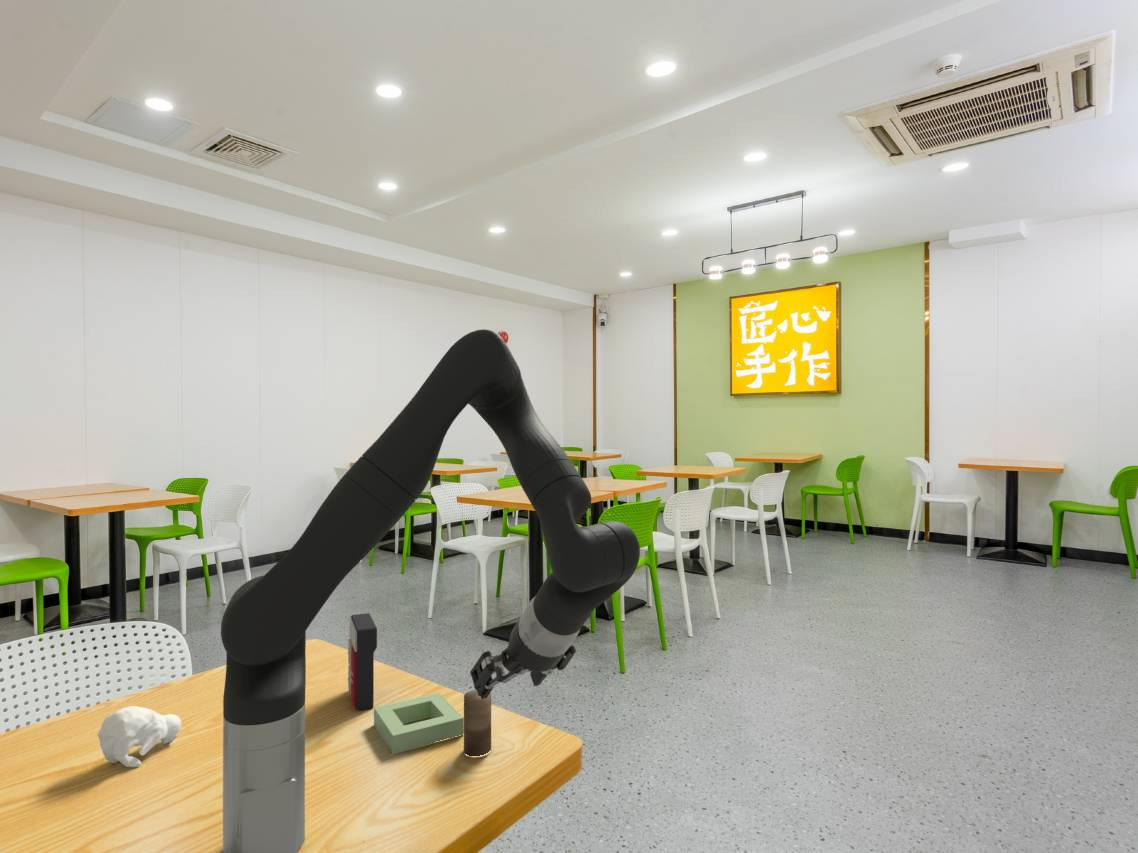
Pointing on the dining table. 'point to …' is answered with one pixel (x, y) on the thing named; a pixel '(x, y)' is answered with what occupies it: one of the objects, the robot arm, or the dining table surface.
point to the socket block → (420, 733)
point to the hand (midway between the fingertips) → (508, 686)
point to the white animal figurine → (135, 733)
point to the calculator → (361, 660)
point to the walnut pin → (477, 724)
